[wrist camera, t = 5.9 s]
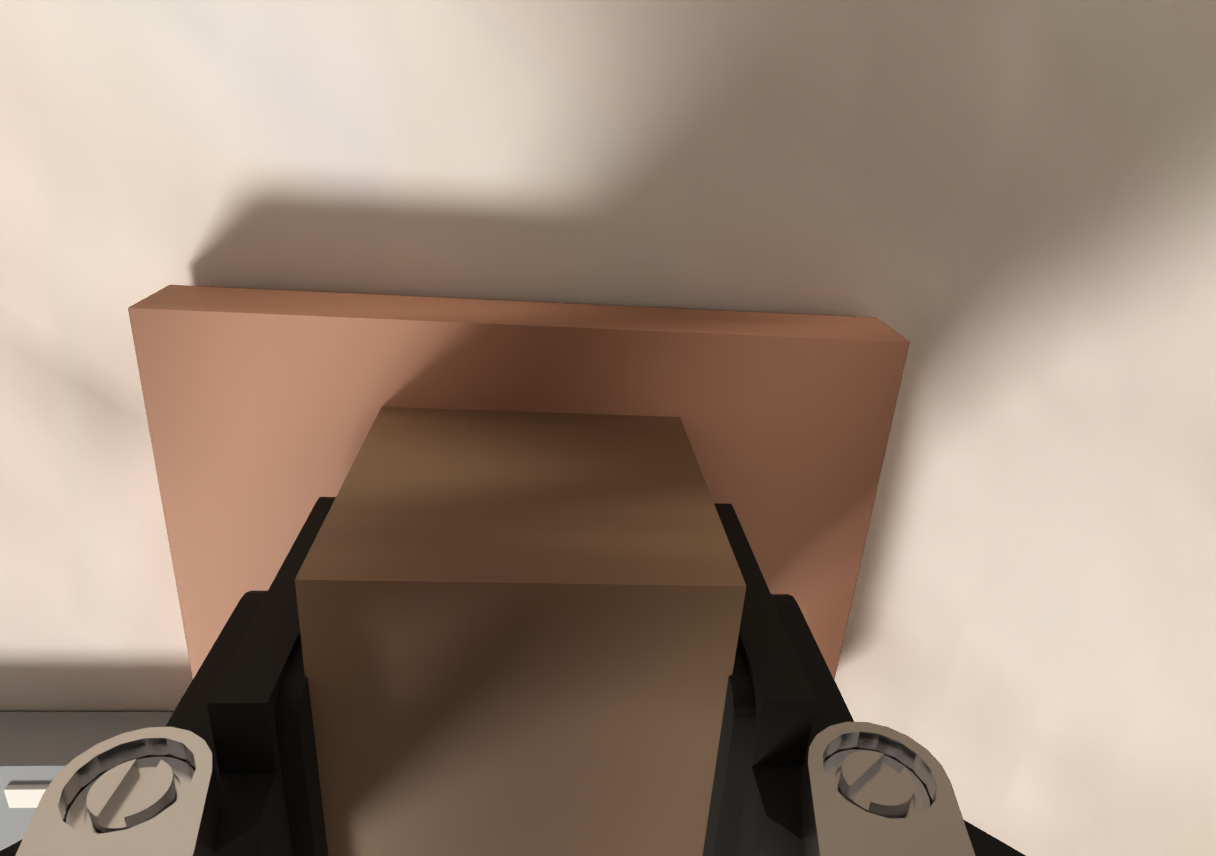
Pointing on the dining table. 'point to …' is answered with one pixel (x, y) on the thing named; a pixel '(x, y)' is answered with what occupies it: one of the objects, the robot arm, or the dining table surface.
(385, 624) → the wooden t-shaped block
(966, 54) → the dining table surface
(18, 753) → the board
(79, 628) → the dining table surface
